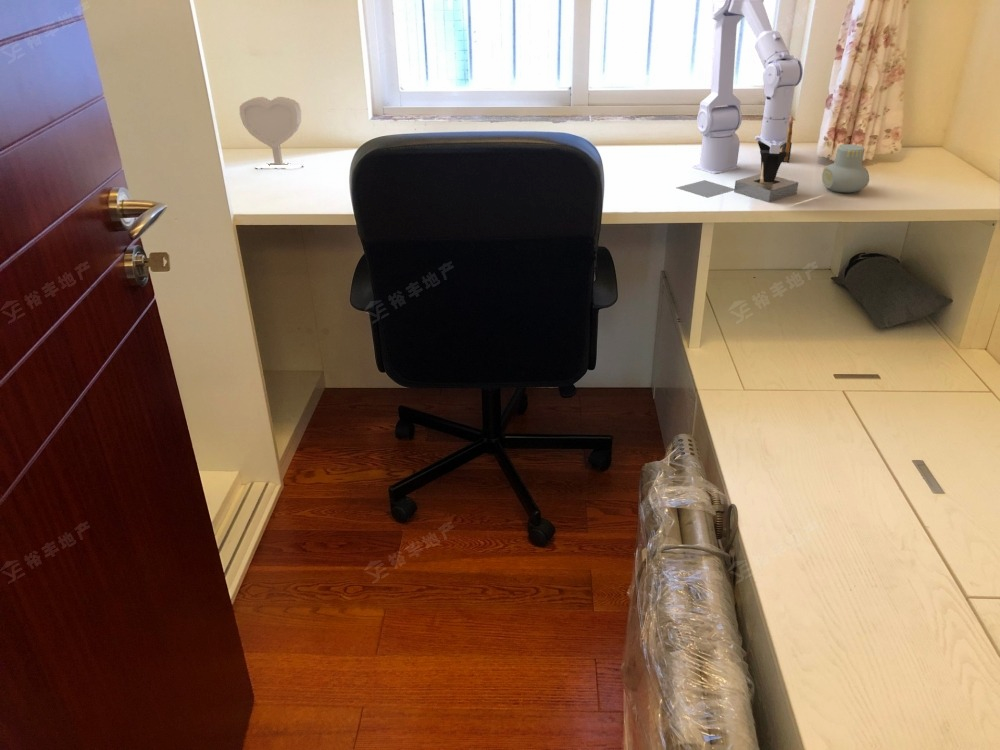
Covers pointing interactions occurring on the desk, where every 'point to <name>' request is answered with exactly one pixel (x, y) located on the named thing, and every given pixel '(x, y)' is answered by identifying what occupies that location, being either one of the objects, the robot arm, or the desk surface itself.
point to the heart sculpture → (271, 121)
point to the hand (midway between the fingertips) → (767, 177)
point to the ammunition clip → (788, 141)
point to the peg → (763, 179)
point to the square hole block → (766, 188)
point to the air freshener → (846, 170)
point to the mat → (705, 188)
